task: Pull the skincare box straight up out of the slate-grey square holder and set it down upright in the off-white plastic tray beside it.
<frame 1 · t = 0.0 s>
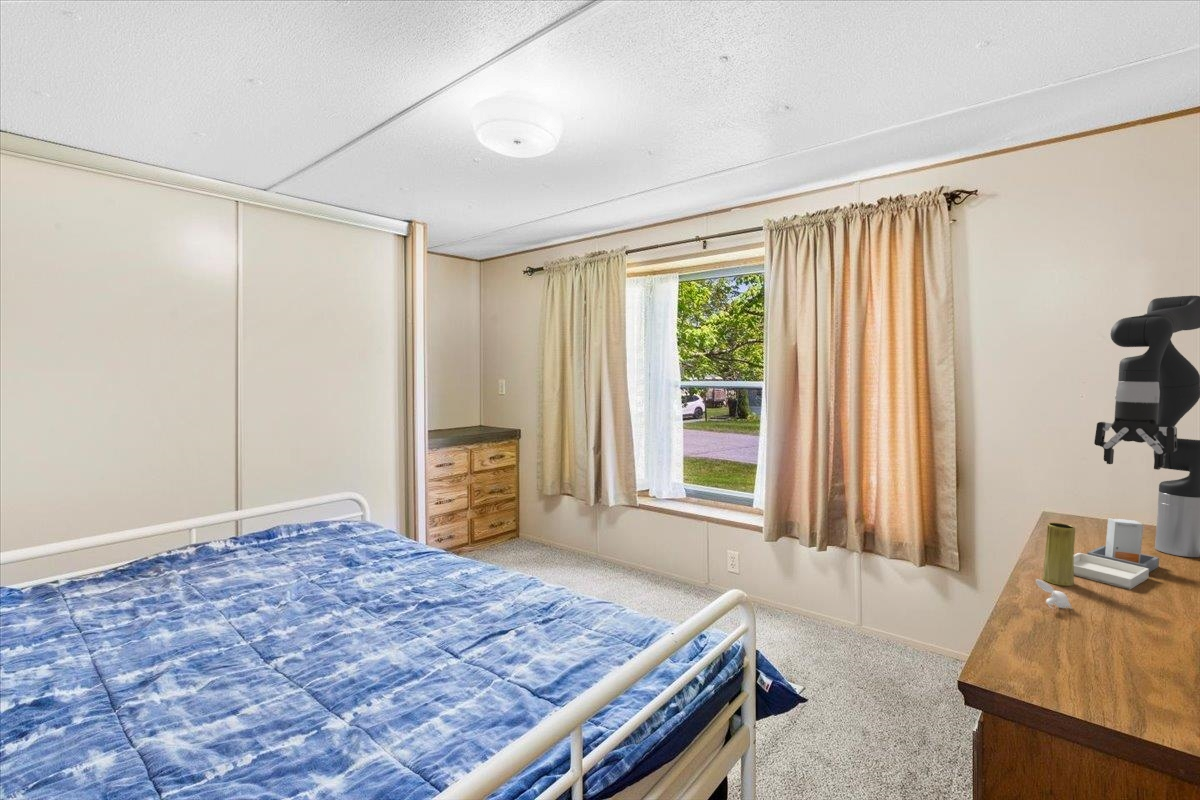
hand: (1132, 466, 133), 29 cm above the table, fingers open, 8 cm apart
skincare box: (1122, 564, 148), resting in holder
holder: (1122, 564, 148), on the table
vase: (1057, 582, 135), on the table
rabbit figurine: (1051, 608, 120), on the table
tray: (1102, 574, 140), on the table
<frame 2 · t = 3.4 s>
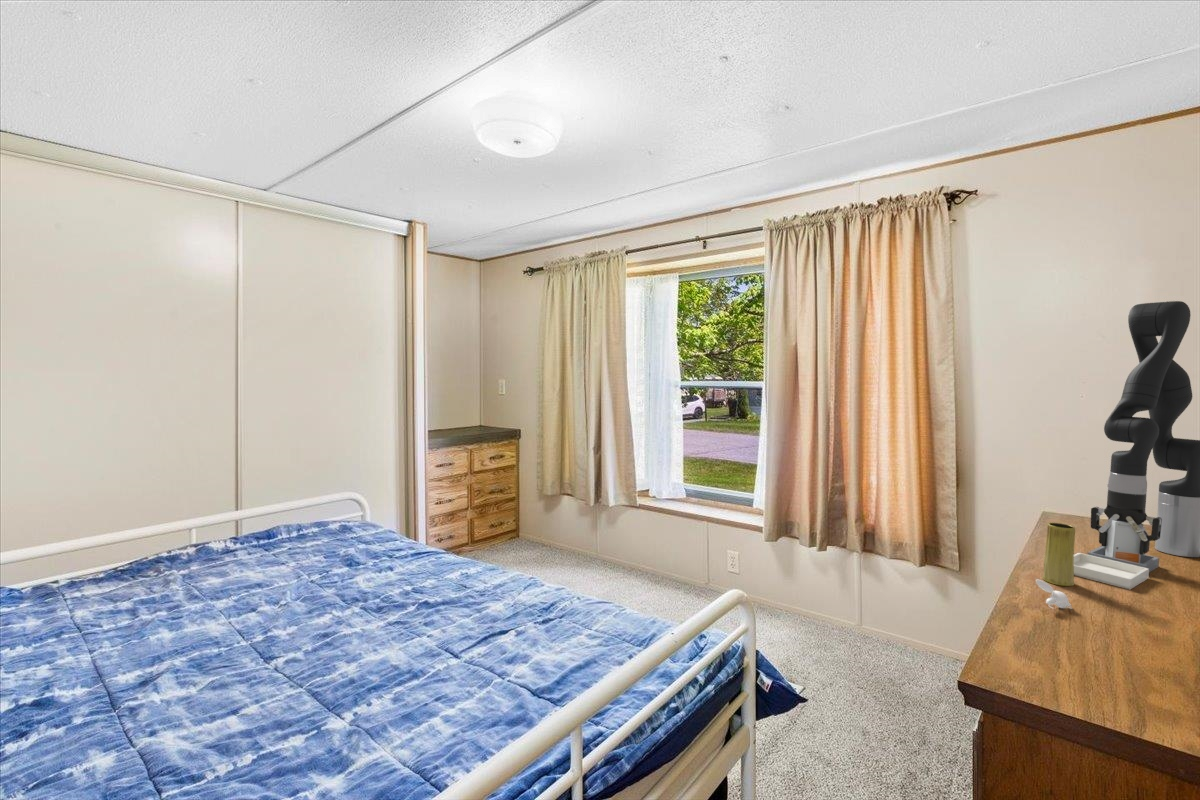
hand: (1122, 549, 148), 4 cm above the table, fingers closed on skincare box, 7 cm apart
skincare box: (1122, 564, 148), resting in holder, touching gripper
everything else where it was.
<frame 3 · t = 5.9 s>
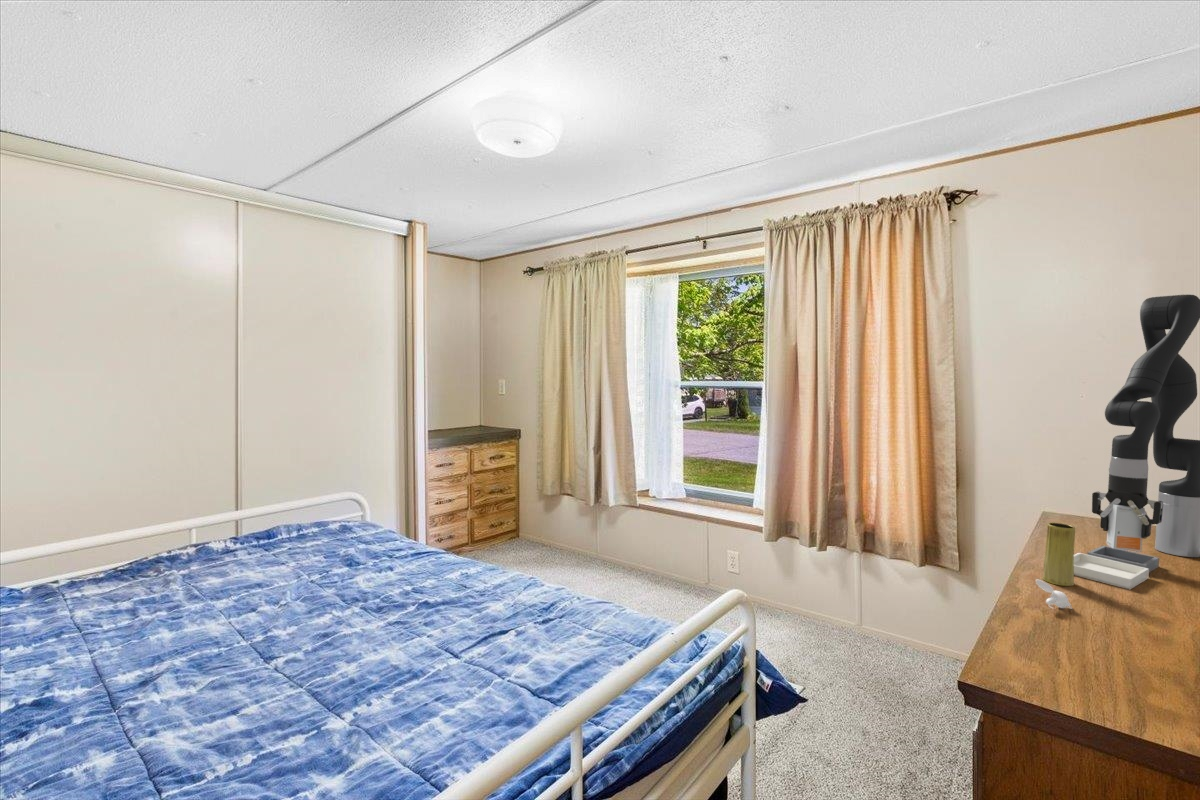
hand: (1124, 534, 148), 8 cm above the table, fingers closed on skincare box, 7 cm apart
skincare box: (1124, 549, 148), point 4 cm above the table, touching gripper
everything else where it was.
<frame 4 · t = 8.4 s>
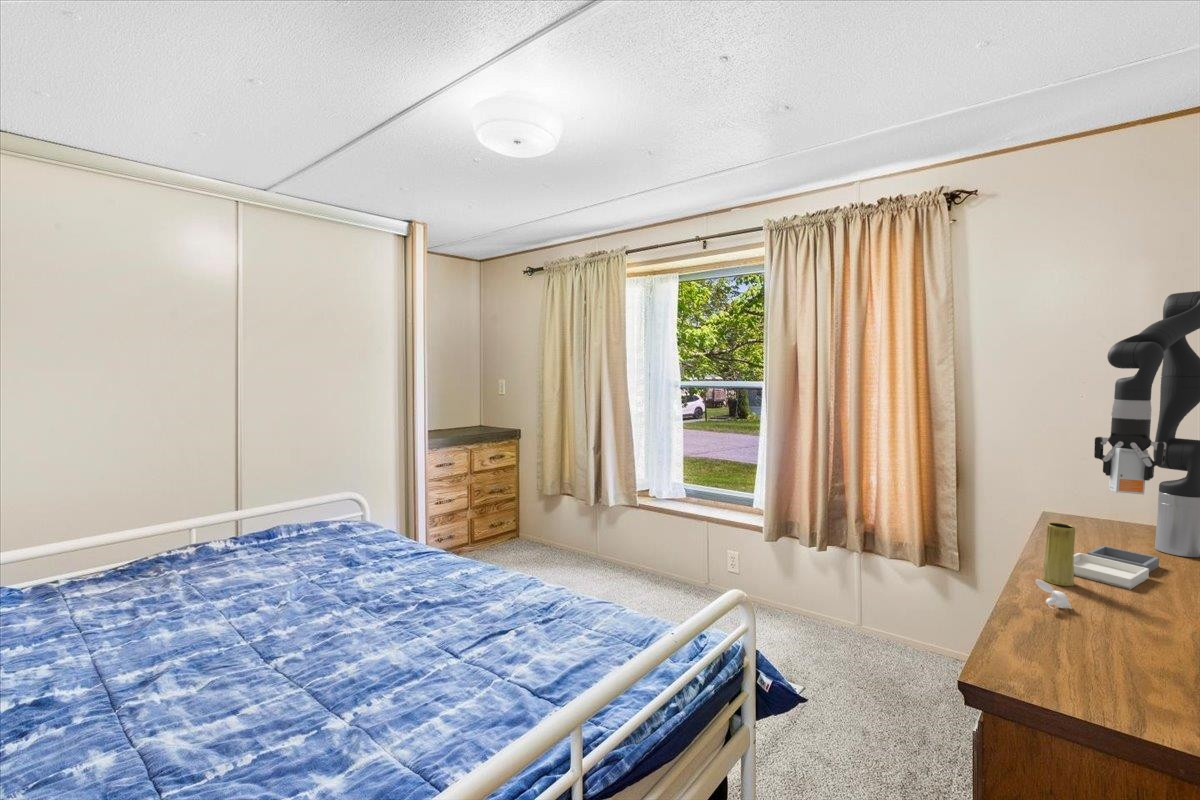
hand: (1127, 477, 146), 24 cm above the table, fingers closed on skincare box, 7 cm apart
skincare box: (1126, 492, 147), point 20 cm above the table, touching gripper
everything else where it was.
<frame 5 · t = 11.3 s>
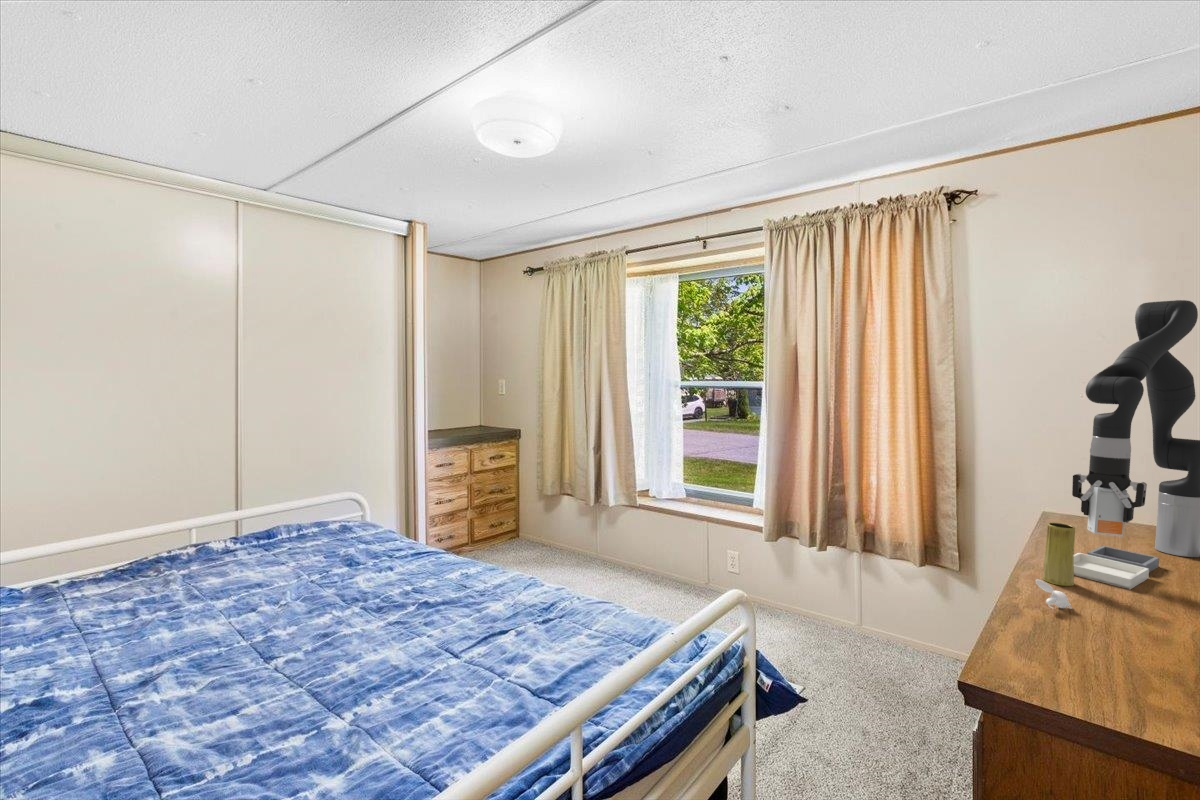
hand: (1106, 518, 139), 15 cm above the table, fingers closed on skincare box, 7 cm apart
skincare box: (1105, 534, 140), point 11 cm above the table, touching gripper
everything else where it was.
when the fingers open (6 cm above the table, at t = 13.5 s): skincare box drops 2 cm, resting on tray.
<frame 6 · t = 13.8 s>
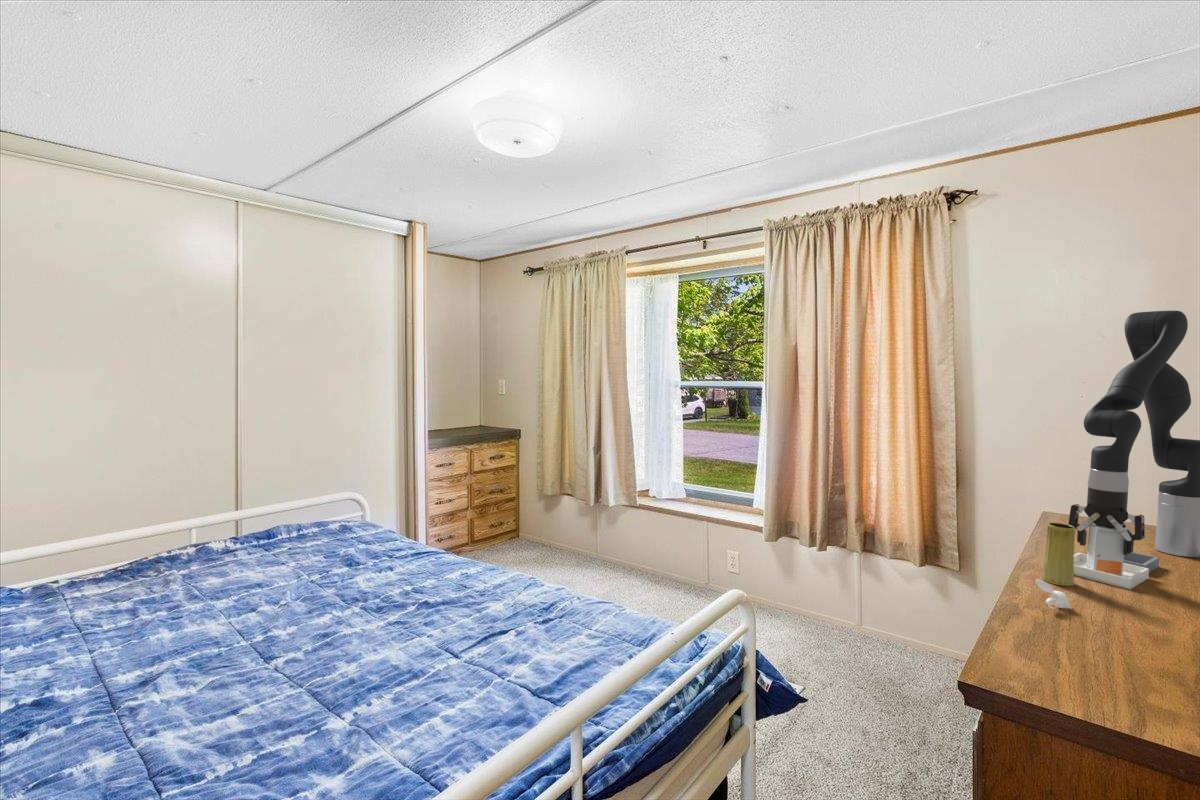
hand: (1103, 549, 140), 7 cm above the table, fingers open, 8 cm apart
skincare box: (1104, 573, 140), resting on tray
everything else where it was.
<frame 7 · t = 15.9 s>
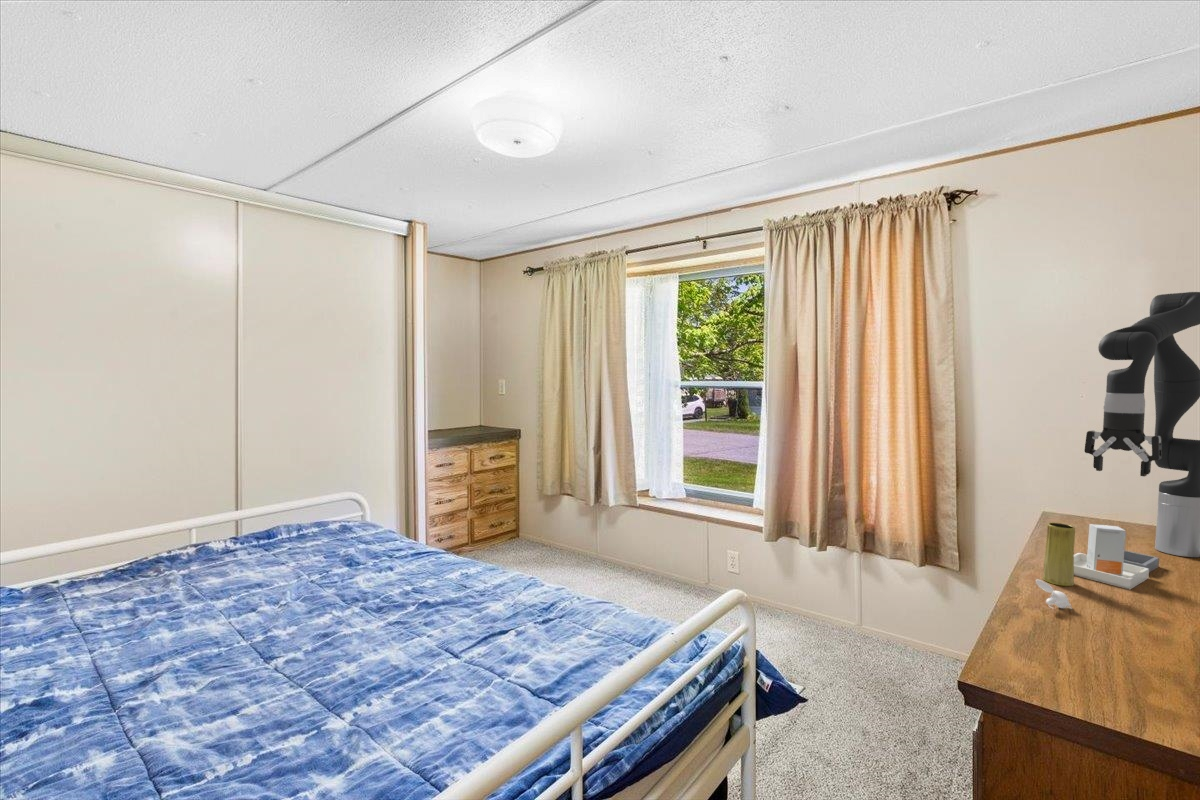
hand: (1120, 473, 140), 26 cm above the table, fingers open, 8 cm apart
nothing on the table moved.
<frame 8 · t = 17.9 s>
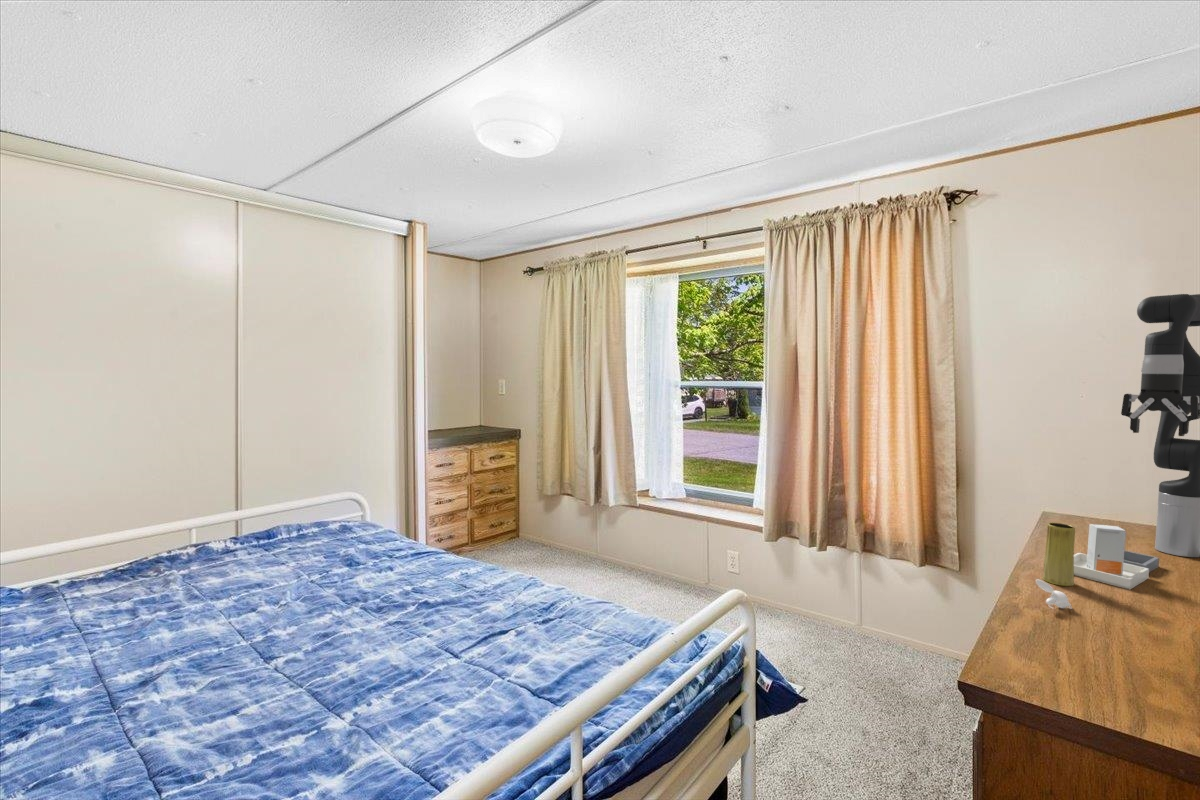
hand: (1157, 434, 142), 36 cm above the table, fingers open, 8 cm apart
nothing on the table moved.
at the end: skincare box inside the target area on the tray (0.4 cm from its centre), point 0.4 cm above the tray's base; skincare box tilted 0°; the gripper is holding nothing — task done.
